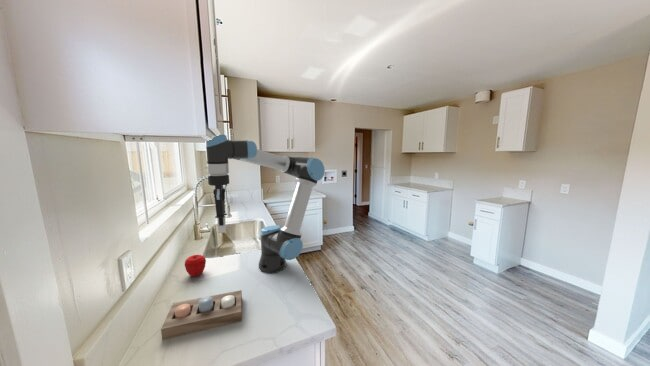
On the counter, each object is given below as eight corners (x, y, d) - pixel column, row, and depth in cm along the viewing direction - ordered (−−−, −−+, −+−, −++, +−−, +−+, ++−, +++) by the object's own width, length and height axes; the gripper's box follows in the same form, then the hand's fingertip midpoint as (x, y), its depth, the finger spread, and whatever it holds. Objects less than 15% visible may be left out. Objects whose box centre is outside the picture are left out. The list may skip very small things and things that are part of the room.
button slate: (200, 309, 90) (199, 297, 89) (214, 306, 92) (213, 295, 91) (198, 317, 86) (197, 305, 85) (212, 314, 87) (211, 303, 86)
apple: (210, 272, 120) (209, 253, 119) (193, 281, 112) (191, 261, 110) (199, 267, 125) (197, 249, 123) (181, 276, 116) (179, 256, 115)
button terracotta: (177, 316, 88) (176, 305, 87) (192, 313, 89) (191, 302, 89) (174, 326, 83) (172, 314, 82) (189, 322, 85) (188, 311, 84)
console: (174, 311, 91) (173, 303, 91) (241, 298, 100) (241, 290, 99) (162, 339, 78) (160, 329, 78) (241, 320, 87) (240, 311, 86)
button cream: (222, 307, 93) (221, 296, 92) (235, 304, 95) (234, 294, 94) (221, 316, 88) (220, 304, 88) (234, 313, 90) (234, 301, 89)
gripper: (210, 173, 92) (214, 227, 96) (204, 176, 80) (209, 239, 84) (229, 172, 95) (233, 225, 98) (227, 176, 83) (231, 236, 86)
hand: (222, 232), depth 91 cm, fingers closed
